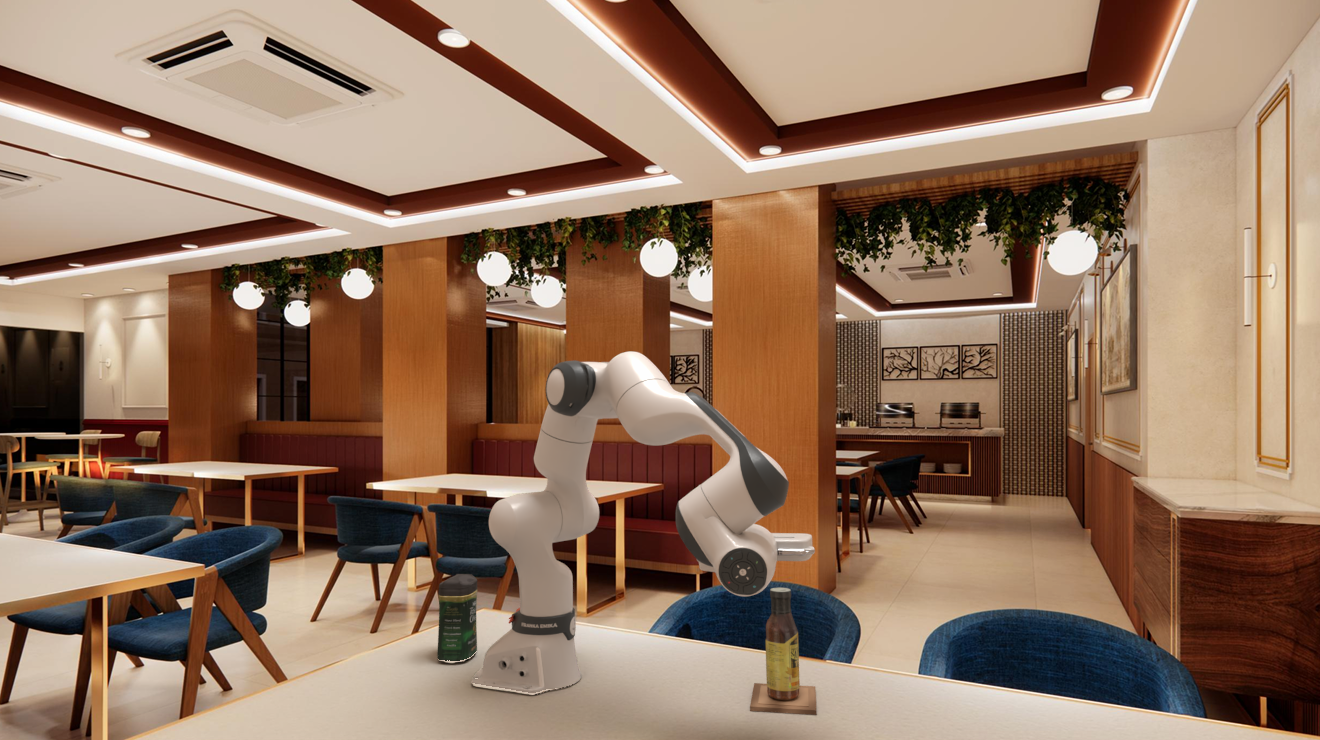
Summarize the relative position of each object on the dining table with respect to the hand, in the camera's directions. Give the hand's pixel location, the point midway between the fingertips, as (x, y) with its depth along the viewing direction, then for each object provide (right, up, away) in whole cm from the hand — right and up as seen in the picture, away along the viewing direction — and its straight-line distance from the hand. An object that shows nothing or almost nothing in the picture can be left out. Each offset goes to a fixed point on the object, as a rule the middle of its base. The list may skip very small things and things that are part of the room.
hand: (755, 538), depth 133 cm
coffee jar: (-64, -35, +34) cm, 80 cm away
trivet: (+6, -32, +6) cm, 34 cm away
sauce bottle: (+6, -32, +6) cm, 33 cm away
